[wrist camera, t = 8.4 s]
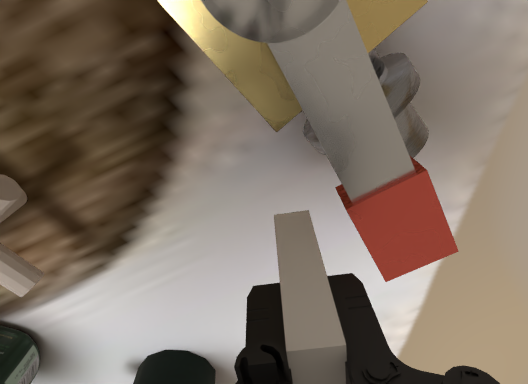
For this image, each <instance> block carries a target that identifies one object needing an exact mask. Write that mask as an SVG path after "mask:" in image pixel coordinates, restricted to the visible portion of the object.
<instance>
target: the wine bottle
mask: <svg viewBox="0 0 528 384" xmlns="http://www.w3.org/2000/svg"><path fill="white" fill-rule="evenodd" d="M133 384H215V369H214V368H213V367H212V366H211V365H210V364H209V362H208V361H207V360H206V359H205V358H203V357H200V356H198V355H196V354H193V353H191V352H189V351H178V350H164V351H161V352H158V353H155V354H153V355H150V356H148V357H147V358H146V359H145V360H144V362H143V363H142V364H141V365H140V366H139V368H138V371H137V374H136V377H135V380H134V383H133Z"/></svg>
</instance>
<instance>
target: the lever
mask: <svg viewBox="0 0 528 384" xmlns="http://www.w3.org/2000/svg"><path fill="white" fill-rule="evenodd" d="M201 1H202V3H203V4H204V6H205V7H206V9H207V10H208V11H209V12H210V13H211V15H212V16H213V17H214V18H215V19H216V20H217V21H218V22H219V23H220V24H221V25H223V26H224V27H225V28H227V29H228V30H230V31H231V32H233V33H235V34H237V35H239V36H240V37H243V38H246V39H249V40H252V41H257V42H263V43H267V44H268V46H269V48H270V50H271V52H272V53H273V55H274V57H275V59H276V61H277V63H278V65H279V67H280V68H281V70H282V72H283V74H284V76H285V78H286V80H287V82H288V84H289V85H290V87H291V89H292V91H293V93H294V95H295V97H296V99H297V100H298V102H299V104H300V106H301V108H302V110H303V112H304V114H305V115H306V117H307V119H308V121H309V123H310V125H311V127H312V129H313V130H314V132H315V134H316V136H317V138H318V140H319V142H320V144H321V145H322V147H323V149H324V151H325V153H326V155H327V157H328V159H329V160H330V162H331V164H332V166H333V168H334V170H335V172H336V174H337V176H338V177H339V179H340V181H341V183H342V184H341V185H339V186H337V187H335V188H336V190H337V192H338V194H339V196H340V198H341V200H342V202H343V204H344V206H345V209H346V210H347V212H348V214H349V216H350V218H351V220H352V221H353V223H354V225H355V227H356V229H357V231H358V232H359V234H360V236H361V238H362V240H363V241H364V243H365V245H366V247H367V249H368V251H369V252H370V254H371V256H372V258H373V260H374V262H375V263H376V265H377V267H378V269H379V271H380V272H381V274H382V276H383V278H384V280H385V282H387V281H390V280H392V279H394V278H397V277H399V276H401V275H404V274H406V273H408V272H411V271H413V270H416V269H418V268H420V267H423V266H425V265H427V264H430V263H432V262H434V261H437V260H439V259H442V258H444V257H446V256H448V255H451V254H453V253H456V252H458V249H457V246H456V244H455V241H454V238H453V236H452V233H451V231H450V228H449V226H448V223H447V220H446V218H445V215H444V213H443V210H442V207H441V205H440V202H439V200H438V197H437V195H436V192H435V189H434V187H433V184H432V182H431V179H430V177H429V174H428V171H427V170H426V169H425V168H424V167H423V166H422V165H420V164H419V163H418V162H417V161H416V160H414V159H413V158H412V157H411V156H410V155H409V154H408V151H407V149H406V146H405V144H404V141H403V139H402V136H401V134H400V132H399V129H398V127H397V124H396V122H395V119H394V117H393V114H392V112H391V109H390V107H389V104H388V102H387V100H386V97H385V95H384V92H383V90H382V87H381V85H380V82H379V80H378V77H377V75H376V73H375V70H374V68H373V65H372V63H371V60H370V58H369V55H368V53H367V50H366V48H365V45H364V43H363V41H362V38H361V36H360V33H359V31H358V28H357V26H356V23H355V21H354V18H353V16H352V13H351V11H350V9H349V6H348V4H347V1H346V0H201Z"/></svg>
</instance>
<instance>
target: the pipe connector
mask: <svg viewBox="0 0 528 384" xmlns="http://www.w3.org/2000/svg"><path fill="white" fill-rule="evenodd" d="M26 202H27V196H26V193H25V192H24V191H23V190H22V189H21V188H20V186H19V185H18V184H17V182H16V181H15V180H13V179H11V178H10V177H8V176H6V175H1V174H0V223H1V222H2V221H3V220H5V219H6V218H7V217H9V216H10V215H11V214H12V213H14V212H15V211H16V210H18V209H19V208H20V207H22V206H23V205H24V204H25V203H26ZM43 275H44V273H43V272H42V271H40V270H39V269H38V268H36V267H35V266H33V265H32V264H30V263H29V262H27V261H26V260H24V259H23V258H21V257H20V256H18V255H17V254H16V253H14V252H13V251H11V250H10V249H8V248H7V247H5V246H4V245H2V244H1V243H0V285H2V286H4V287H5V288H7V289H8V290H10V291H12V292H13V293H15V294H16V295H18V296H20V297H22V296H24V295H25V294H26V293H27V292H28V291H29V290H30V289H31V288H32V287H33V286H34V285H35V284H36V283H37V282H38V281H39V280H40V279H41V278H42V276H43Z"/></svg>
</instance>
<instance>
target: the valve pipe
mask: <svg viewBox="0 0 528 384" xmlns="http://www.w3.org/2000/svg"><path fill="white" fill-rule="evenodd" d="M157 1H158V2H159V3H160V4H161V5H162V6H163V7H164V9H165V10H166V11H167V12H168V13H169V14H170V15H171V16H172V17H173V18H174V20H175V21H176V22H177V23H178V24H179V25H180V26H181V27H182V28H183V30H184V31H185V32H186V33H187V34H188V35H189V36H190V37H191V38H192V39H193V41H194V42H195V43H196V44H197V45H198V46H199V47H200V48H201V49H202V50H203V52H204V53H205V54H206V55H207V56H208V57H209V58H210V59H211V60H212V62H213V63H214V64H215V65H216V66H217V67H218V68H219V69H220V70H221V71H222V73H223V74H224V75H225V76H226V77H227V78H228V79H229V80H230V81H231V82H232V84H233V85H234V86H235V87H236V88H237V89H238V90H239V91H240V92H241V94H242V95H243V96H244V97H245V98H246V99H247V100H248V101H249V102H250V103H251V105H252V106H253V107H254V108H255V109H256V110H257V111H258V112H259V113H260V114H261V116H262V117H263V118H264V119H265V120H266V121H267V122H268V123H269V124H270V126H271V127H272V128H273V129H274V130H275V131H276V132H278V131H279V130H280V129H281V128H282V127H284V126H285V125H286V124H287V123H288V122H289V121H291V120H292V119H293V118H294V117H295V116H296V115H297V114H299V113H300V112H301V111H302V108H301V106H300V104H299V102H298V100H297V99H296V97H295V95H294V93H293V91H292V89H291V87H290V85H289V84H288V82H287V80H286V78H285V76H284V74H283V72H282V70H281V68H280V67H279V65H278V63H277V61H276V59H275V57H274V55H273V53H272V52H271V50H270V48H269V46H268V44H267V43H263V42H257V41H252V40H249V39H246V38H243V37H240V36H239V35H237V34H235V33H233V32H231V31H230V30H228V29H227V28H225V27H224V26H223V25H221V24H220V23H219V22H218V21H217V20H216V19H215V18H214V17H213V16H212V15H211V13H210V12H209V11H208V10H207V9H206V7H205V6H204V4H203V3H202V1H201V0H157ZM346 1H347V4H348V6H349V9H350V11H351V13H352V16H353V18H354V21H355V23H356V26H357V28H358V31H359V33H360V36H361V38H362V41H363V43H364V45H365V48H366V50H367V53H368V55H369V58H370V60H371V63H372V65H373V68H374V70H375V73H376V75H377V77H378V80H379V82H380V85H381V87H382V90H383V92H384V95H385V97H386V100H387V102H388V104H389V107H390V109H391V112H392V114H393V117H394V119H395V122H396V124H397V127H398V129H399V132H400V134H401V136H402V139H403V141H404V144H405V146H406V149H407V151H408V154H409V155H410V156H411V157H412V158H414V157H415V156H416V155H417V154H418V153H419V152H420V150H421V149H422V148H423V146H424V145H425V143H426V141H427V138H428V134H429V133H428V128H427V127H426V125H425V124H424V122H423V121H422V119H421V118H420V116H419V115H418V113H417V112H416V111H415V109H414V108H413V106H412V105H411V103H410V101H411V100H412V99H413V97H414V95H415V94H416V92H417V90H418V88H419V84H420V77H419V75H418V73H417V72H416V70H415V69H414V67H413V65H412V64H411V62H410V61H409V59H408V58H407V56H406V55H405V54H403V53H394V54H390V55H387V56H384V57H382V58H380V57H379V56H378V54H377V53H376V51H375V50H374V48H375V47H376V46H377V45H378V44H379V43H381V42H382V41H383V40H384V39H385V38H386V37H388V36H389V35H390V34H391V33H392V32H393V31H395V30H396V29H397V28H398V27H399V26H400V25H401V24H403V23H404V22H405V21H406V20H407V19H408V18H410V17H411V16H412V15H413V14H414V13H415V12H416V11H418V10H419V9H420V8H421V7H422V6H423V5H425V4H426V3H427V2H428V1H427V0H346ZM303 133H304V136H305V137H306V138H307V139H308V140H309V142H310V143H311V144H312V145H313V146H314V147H315V149H316V150H317V151H318V152H319V153H321V154H325V155H326V153H325V151H324V149H323V147H322V145H321V144H320V142H319V140H318V138H317V136H316V134H315V132H314V130H313V129H312V127H311V125H310V123H309V121H308V120H307V122H306V124H305V126H304V131H303Z"/></svg>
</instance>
